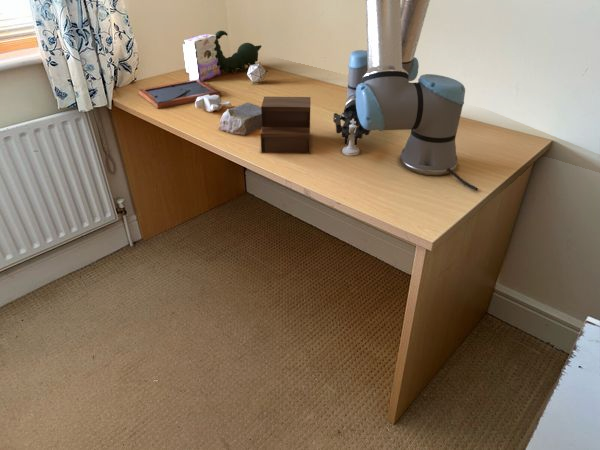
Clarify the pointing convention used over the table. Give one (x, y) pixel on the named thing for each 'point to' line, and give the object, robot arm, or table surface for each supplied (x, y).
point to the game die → (256, 73)
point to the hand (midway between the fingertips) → (351, 140)
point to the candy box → (202, 57)
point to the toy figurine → (236, 55)
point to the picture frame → (177, 93)
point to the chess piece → (351, 141)
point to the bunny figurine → (210, 103)
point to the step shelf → (285, 125)
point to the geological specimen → (242, 119)
